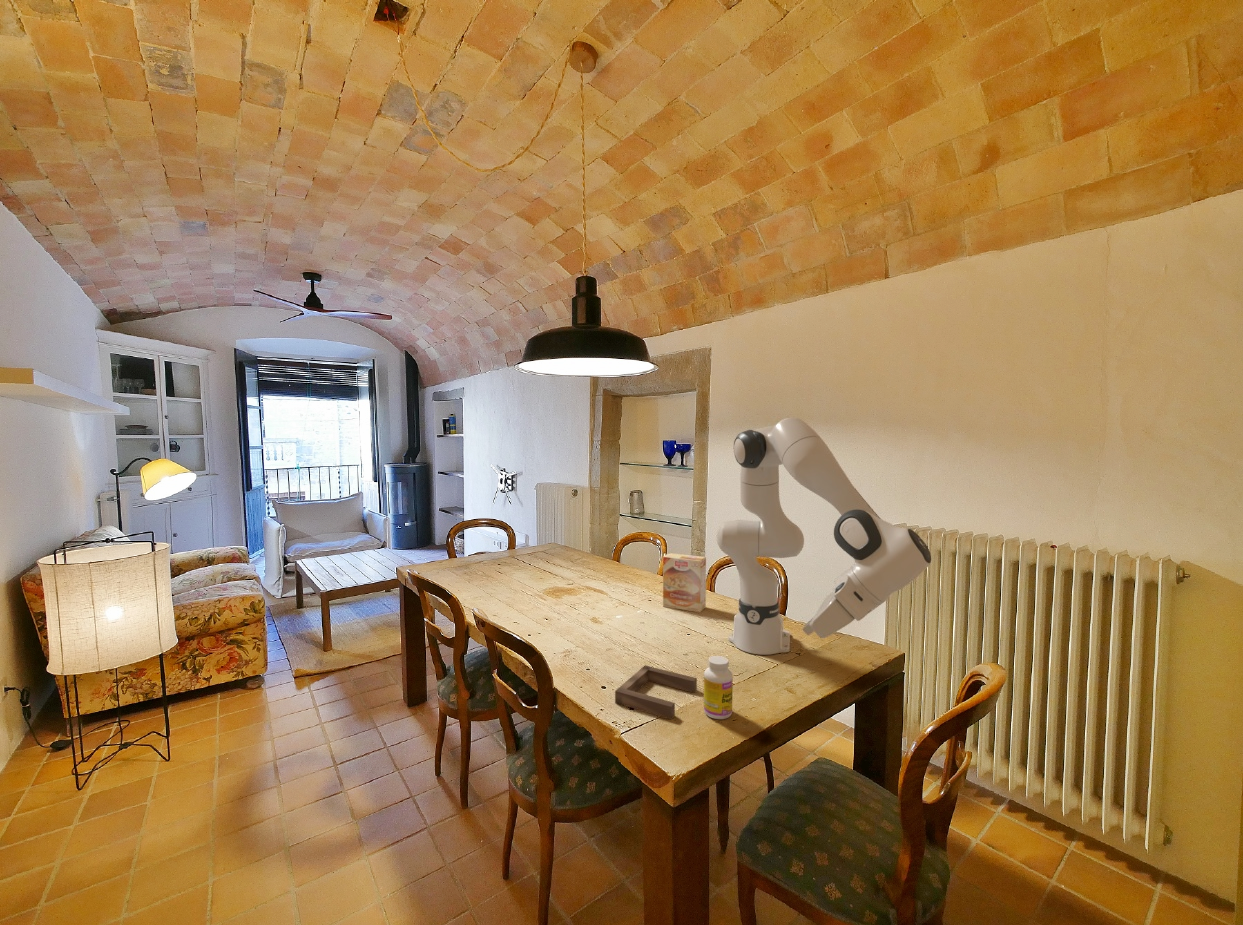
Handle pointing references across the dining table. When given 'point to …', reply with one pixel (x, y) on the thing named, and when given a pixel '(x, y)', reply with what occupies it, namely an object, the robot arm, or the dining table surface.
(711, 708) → the supplement bottle
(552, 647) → the dining table surface
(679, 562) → the coffeecake box
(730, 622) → the dining table surface
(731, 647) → the dining table surface
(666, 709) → the bay
